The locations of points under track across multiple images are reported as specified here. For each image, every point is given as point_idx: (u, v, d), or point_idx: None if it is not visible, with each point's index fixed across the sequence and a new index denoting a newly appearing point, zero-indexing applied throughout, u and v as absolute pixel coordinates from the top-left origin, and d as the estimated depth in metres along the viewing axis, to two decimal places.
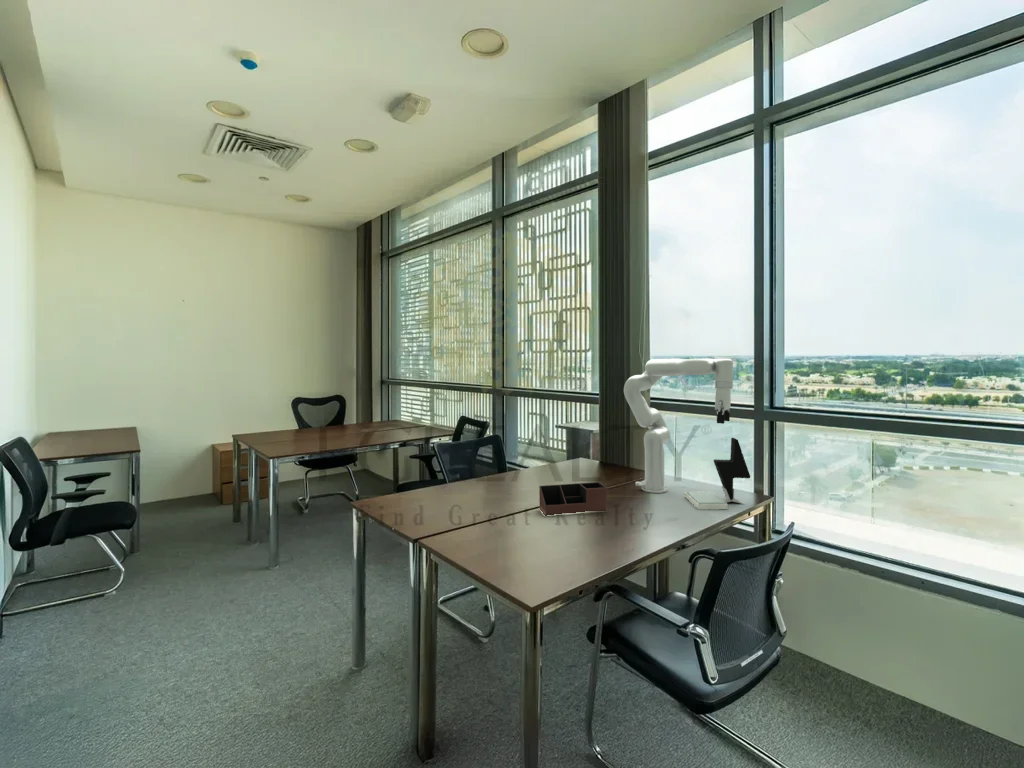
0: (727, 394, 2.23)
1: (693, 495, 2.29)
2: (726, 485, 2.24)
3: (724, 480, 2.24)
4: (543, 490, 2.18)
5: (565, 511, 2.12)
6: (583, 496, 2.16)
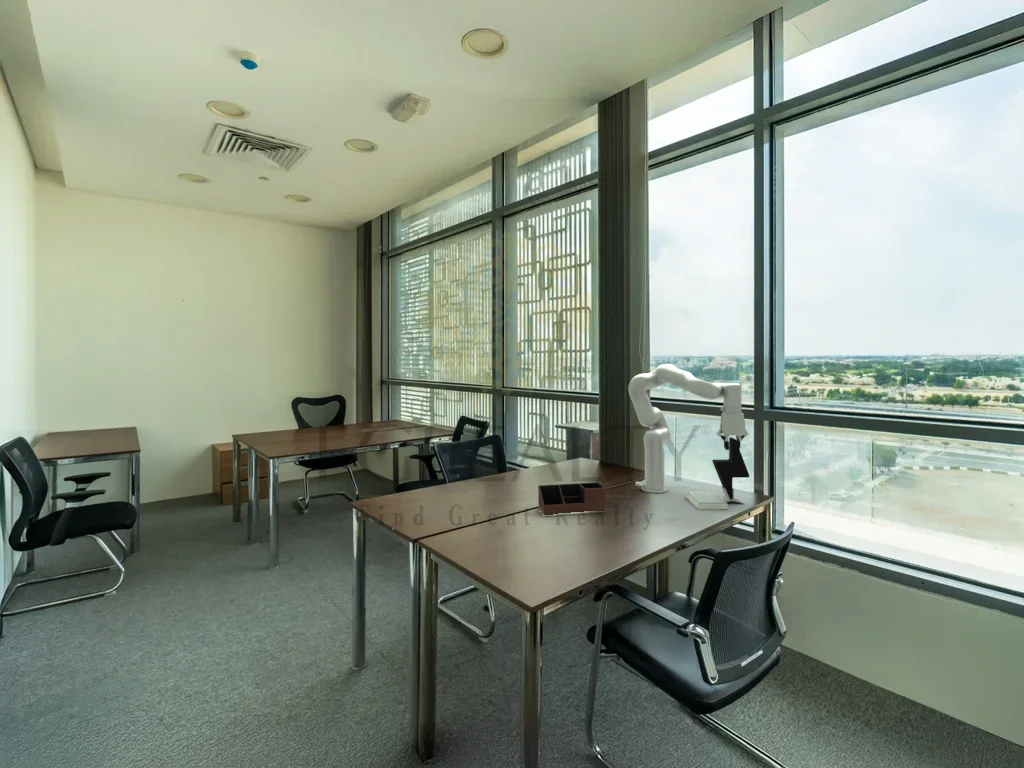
0: None
1: (693, 495, 2.29)
2: (725, 485, 2.24)
3: (723, 480, 2.24)
4: (542, 490, 2.19)
5: (563, 510, 2.12)
6: (582, 496, 2.16)
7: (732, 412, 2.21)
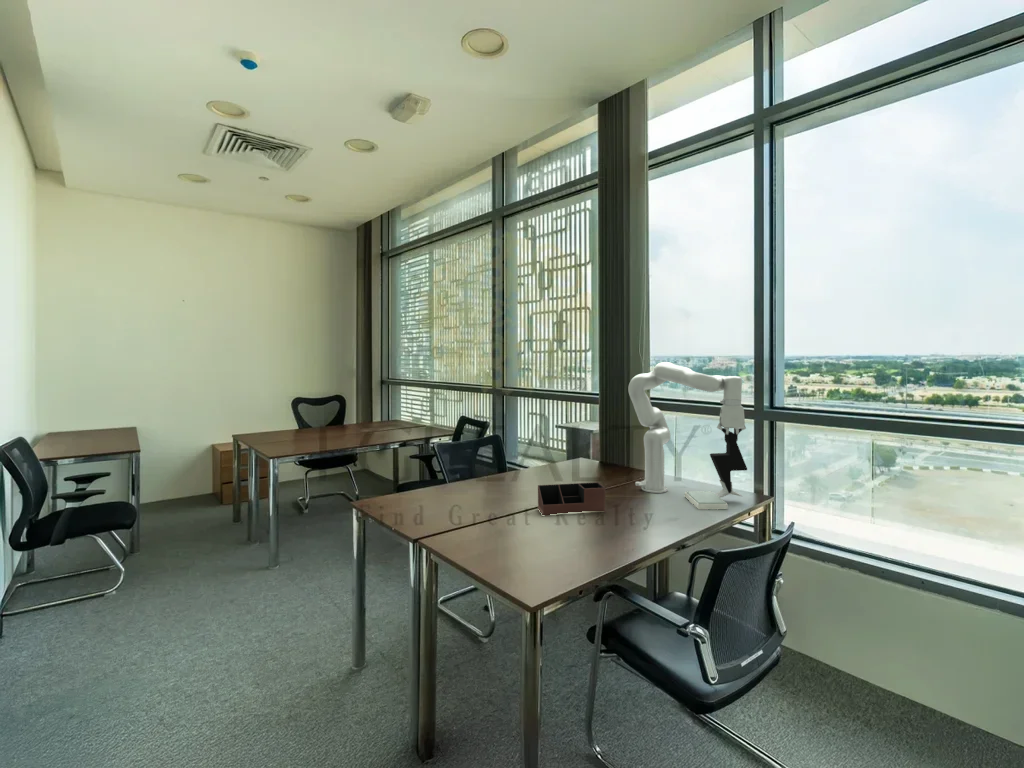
0: None
1: (693, 495, 2.29)
2: (724, 478, 2.25)
3: (722, 474, 2.25)
4: (541, 489, 2.19)
5: (562, 510, 2.12)
6: (581, 496, 2.16)
7: (732, 405, 2.21)
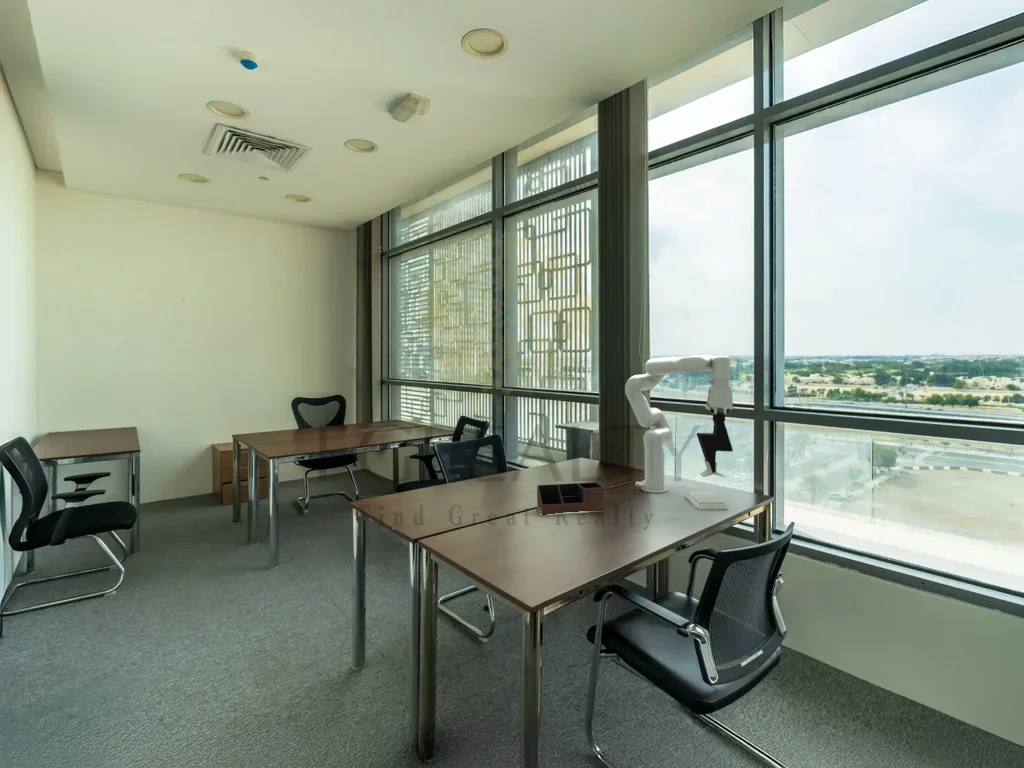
0: None
1: (693, 495, 2.29)
2: (709, 458, 2.24)
3: (707, 453, 2.24)
4: (541, 489, 2.20)
5: (562, 510, 2.12)
6: (580, 496, 2.17)
7: (720, 384, 2.20)
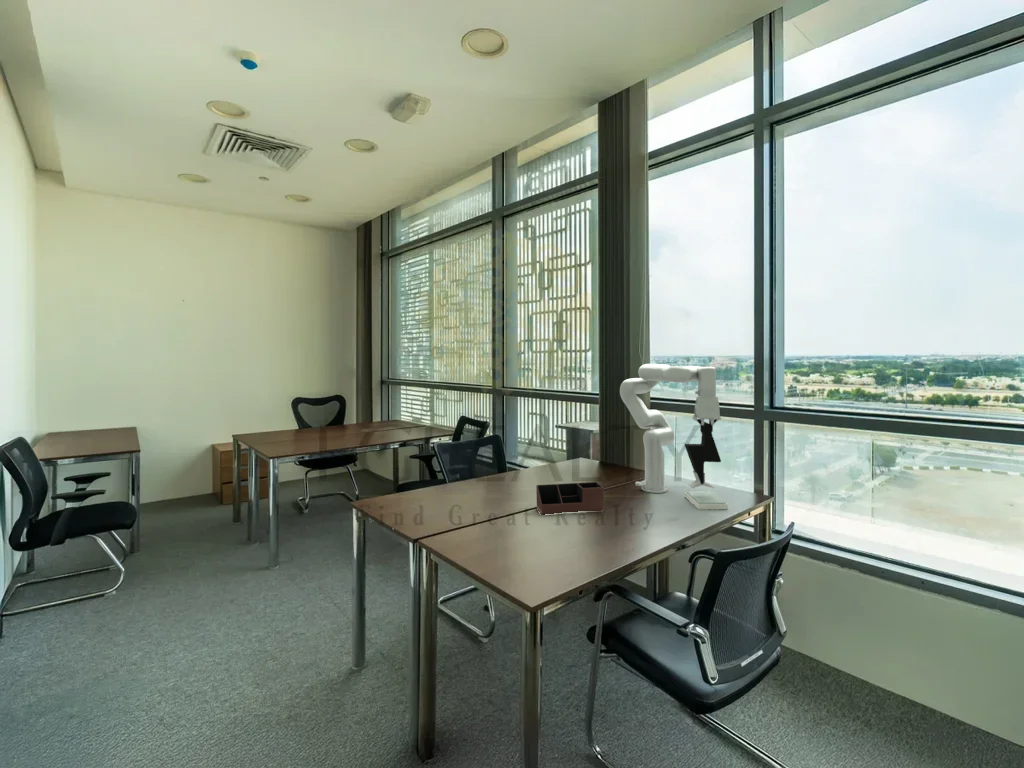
0: None
1: (693, 495, 2.29)
2: (697, 469, 2.23)
3: (695, 464, 2.23)
4: (540, 489, 2.20)
5: (561, 510, 2.13)
6: (580, 496, 2.17)
7: (706, 395, 2.20)
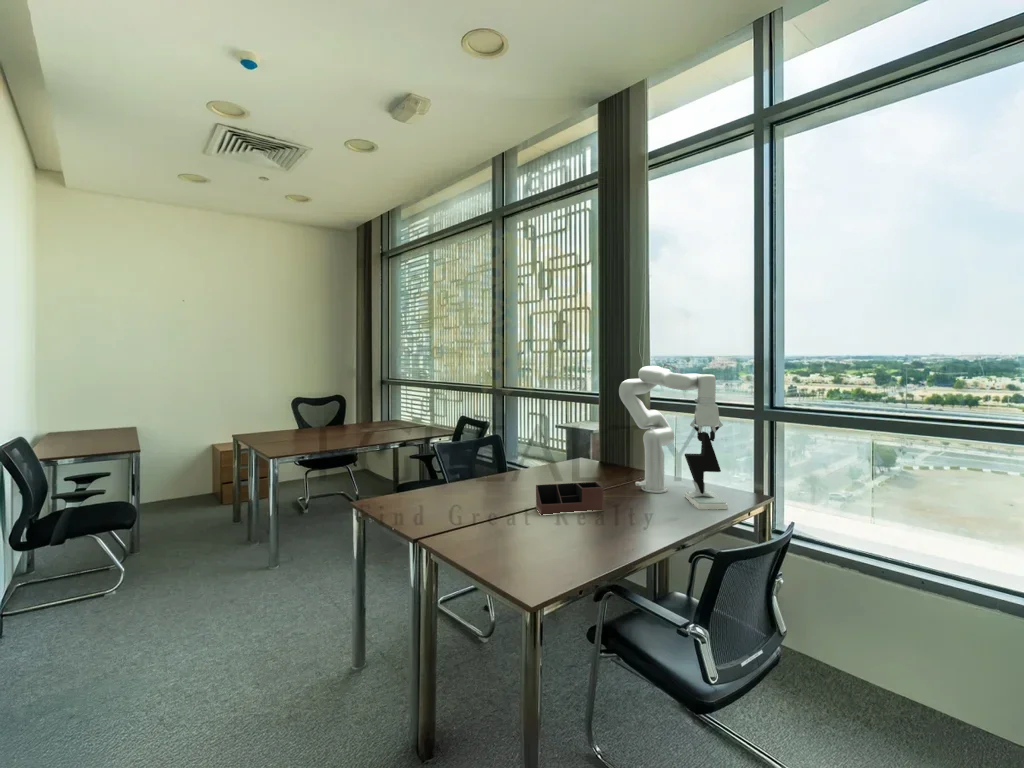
0: None
1: None
2: (697, 479, 2.24)
3: (695, 474, 2.24)
4: (539, 489, 2.20)
5: (560, 510, 2.13)
6: (579, 495, 2.17)
7: (706, 403, 2.20)
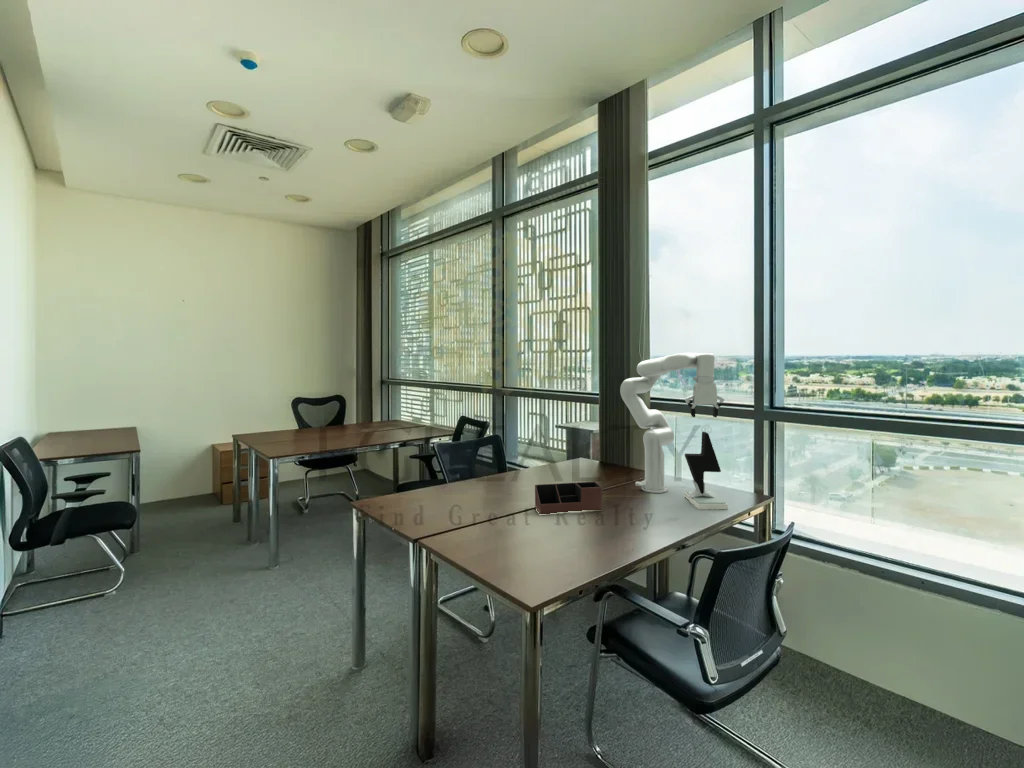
0: None
1: None
2: (697, 479, 2.24)
3: (695, 474, 2.24)
4: (539, 489, 2.20)
5: (559, 510, 2.13)
6: (578, 495, 2.18)
7: (704, 381, 2.21)
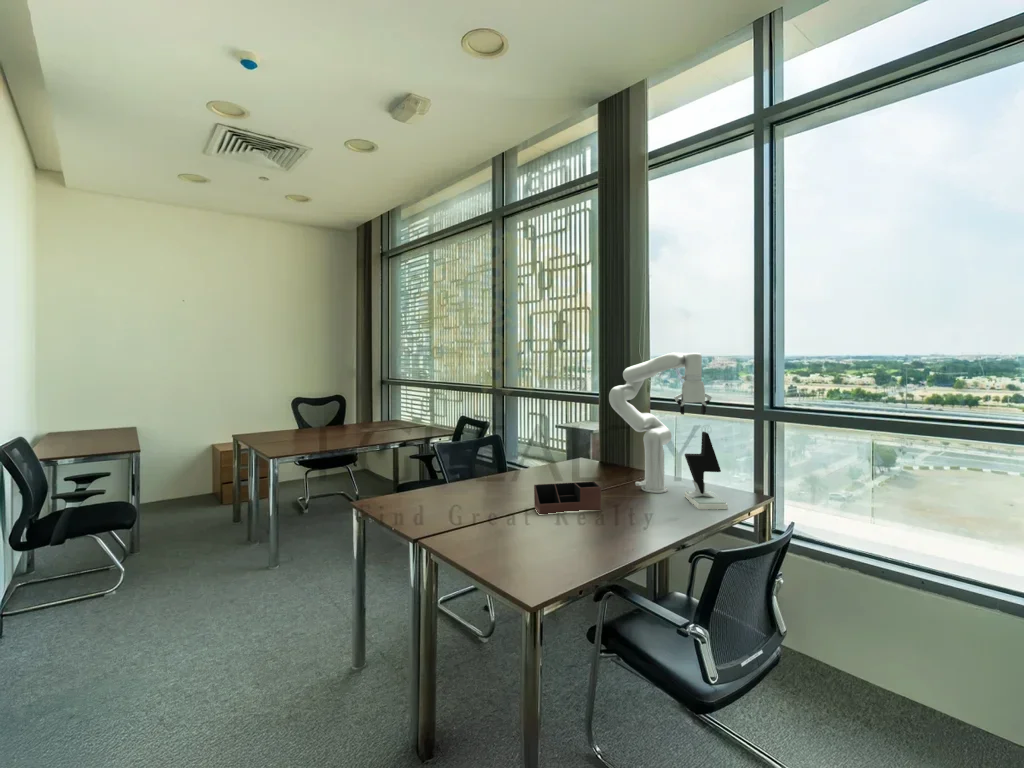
0: None
1: None
2: (697, 479, 2.24)
3: (695, 474, 2.24)
4: (538, 489, 2.21)
5: (559, 509, 2.13)
6: (577, 495, 2.18)
7: (692, 380, 2.30)
